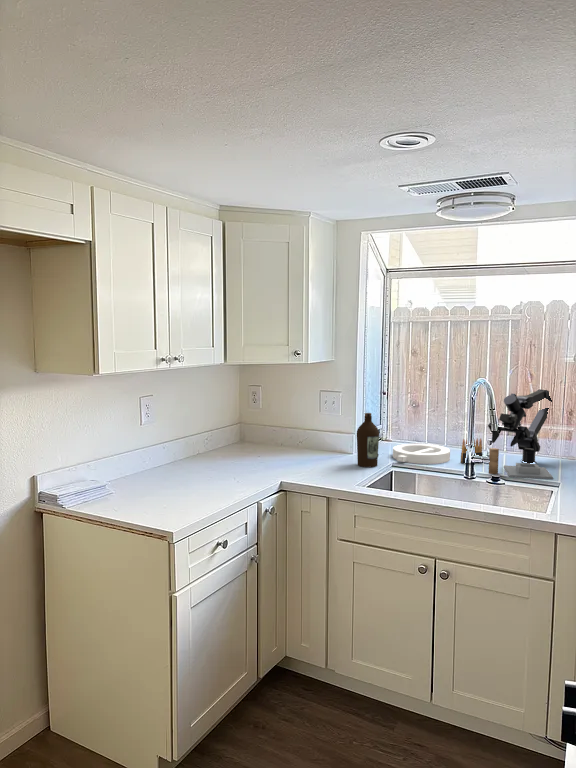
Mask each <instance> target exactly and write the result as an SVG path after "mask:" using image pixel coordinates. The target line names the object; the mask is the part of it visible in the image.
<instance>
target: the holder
mask: <svg viewBox="0 0 576 768" xmlns="http://www.w3.org/2000/svg"><path fill="white" fill-rule="evenodd" d="M503 468H505V469H504V470H505V472H506V473H507V476H508V478H521V479H526V478H527V479H538V480H539V479H540V480H542V479H543V480H554V476H553V475H552V474H551V473H550V471H549V470H548V469H547V468H546V467H545V466H544V467H541V466H539V464H538V463H537V464H530V463H522V462H515V465H503Z"/></svg>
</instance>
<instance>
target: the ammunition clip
mask: <svg viewBox="0 0 576 768" xmlns="http://www.w3.org/2000/svg"><path fill="white" fill-rule="evenodd" d="M473 439H474V447H475V453H476V455H479V456H482V457H483V440H482V438H481V437H480V439H479V438H476V440H475V438H473ZM466 444H467V439H466V440H465V439H464V438H463V439H462V445H461V453H460V464H464V463H465V458H466V451H467V449H466ZM465 464H466V463H465Z"/></svg>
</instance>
